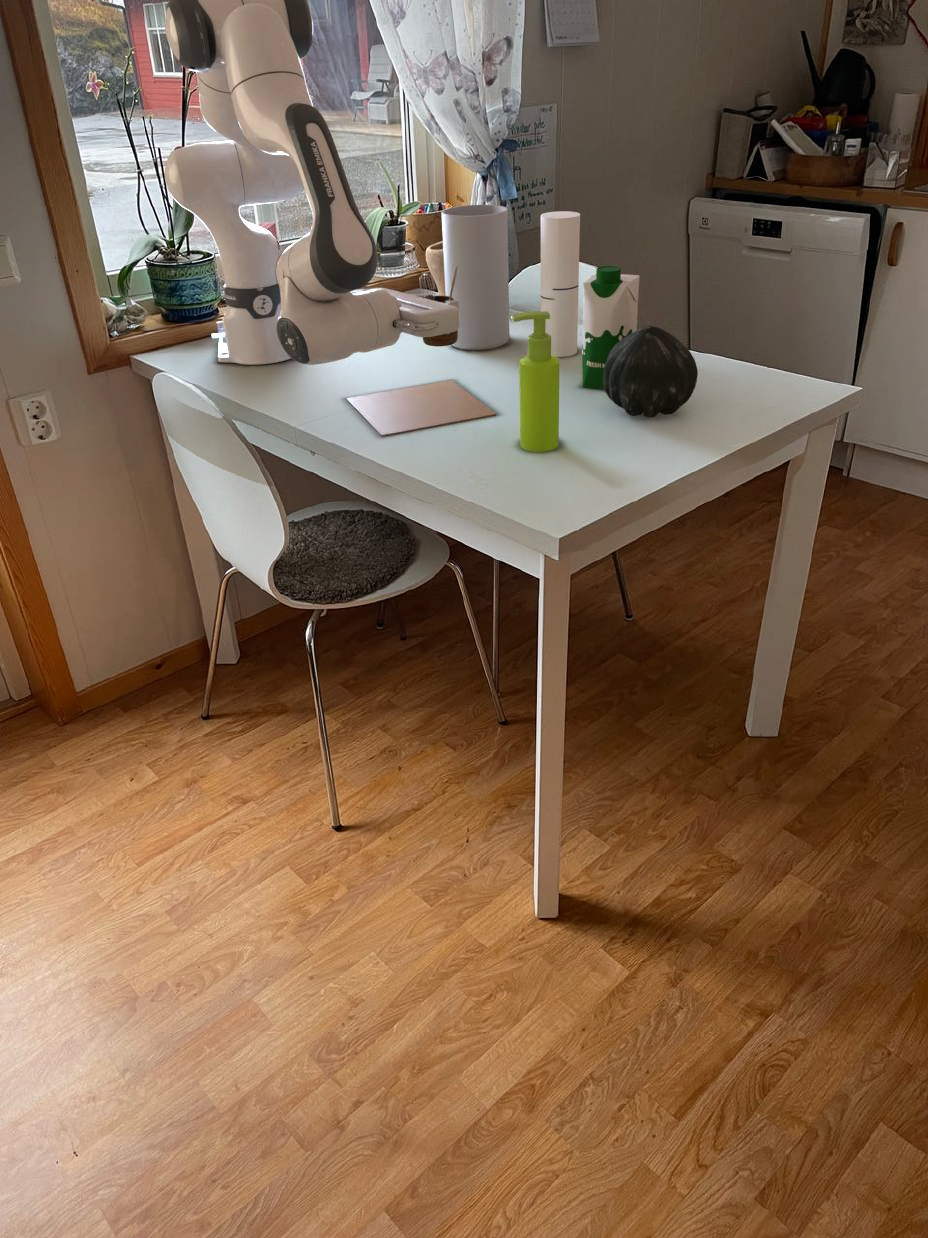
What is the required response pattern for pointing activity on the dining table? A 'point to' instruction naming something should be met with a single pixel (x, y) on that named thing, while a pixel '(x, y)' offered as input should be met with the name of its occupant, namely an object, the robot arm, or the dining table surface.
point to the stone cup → (437, 266)
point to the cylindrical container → (560, 279)
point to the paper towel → (419, 407)
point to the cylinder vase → (478, 273)
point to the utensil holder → (444, 338)
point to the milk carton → (606, 318)
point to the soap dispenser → (538, 388)
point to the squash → (650, 373)
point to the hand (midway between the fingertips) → (443, 301)
